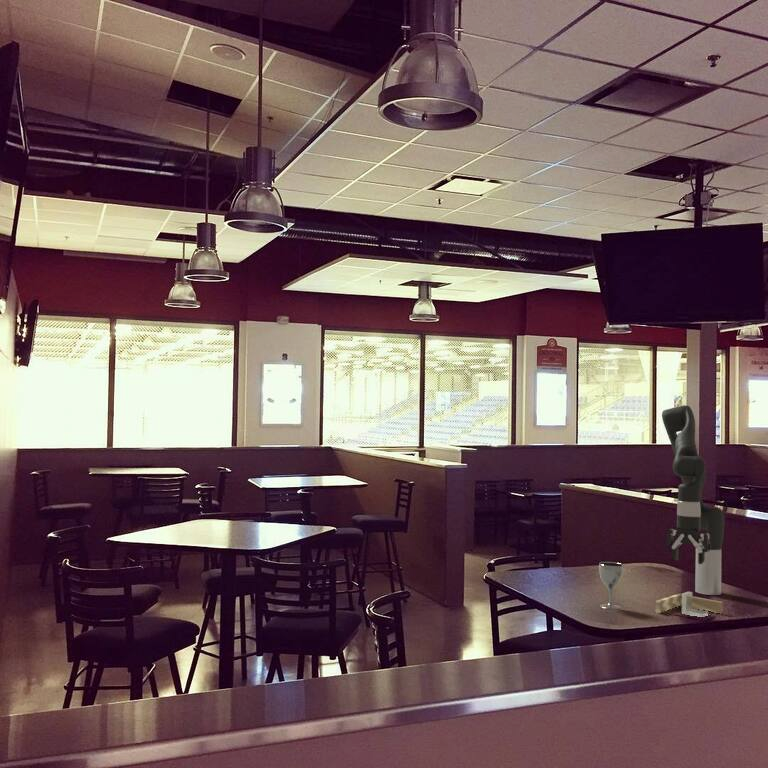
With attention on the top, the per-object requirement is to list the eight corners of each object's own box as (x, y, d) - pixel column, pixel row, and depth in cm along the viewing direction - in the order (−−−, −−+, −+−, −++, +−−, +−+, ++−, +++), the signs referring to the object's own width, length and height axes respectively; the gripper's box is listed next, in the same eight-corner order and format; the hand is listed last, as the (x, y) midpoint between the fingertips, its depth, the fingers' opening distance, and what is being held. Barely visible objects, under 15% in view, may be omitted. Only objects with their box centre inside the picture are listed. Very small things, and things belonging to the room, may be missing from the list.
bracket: (681, 614, 266) (681, 593, 266) (687, 611, 269) (688, 591, 269) (702, 618, 261) (702, 597, 261) (708, 616, 264) (708, 595, 264)
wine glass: (612, 610, 268) (613, 566, 269) (593, 605, 275) (594, 563, 275) (626, 608, 273) (627, 564, 274) (608, 603, 280) (608, 561, 280)
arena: (678, 604, 280) (678, 593, 280) (722, 613, 269) (723, 601, 269) (655, 612, 267) (655, 600, 268) (701, 622, 256) (701, 609, 257)
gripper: (663, 512, 270) (663, 560, 270) (705, 517, 260) (704, 566, 260) (673, 511, 276) (672, 557, 275) (714, 515, 266) (713, 563, 265)
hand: (688, 561), depth 267 cm, fingers open, 8 cm apart
